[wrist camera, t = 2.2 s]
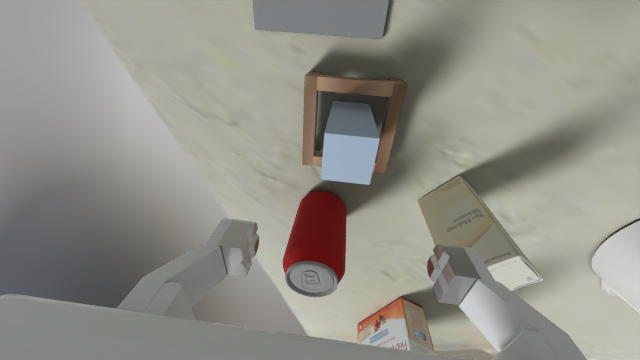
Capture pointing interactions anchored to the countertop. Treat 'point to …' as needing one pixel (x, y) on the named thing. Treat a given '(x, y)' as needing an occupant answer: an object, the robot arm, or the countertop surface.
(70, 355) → the robot arm
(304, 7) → the mat
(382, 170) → the wooden square frame
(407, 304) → the cracker box
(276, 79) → the countertop surface
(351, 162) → the peg
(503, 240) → the skincare box
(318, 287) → the beverage can
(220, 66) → the countertop surface
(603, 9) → the countertop surface
